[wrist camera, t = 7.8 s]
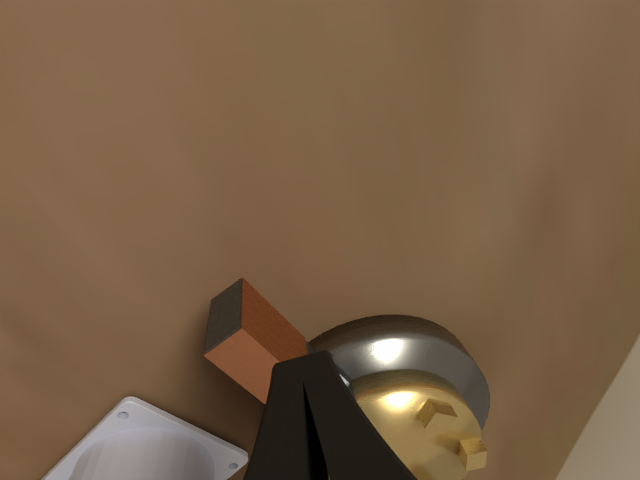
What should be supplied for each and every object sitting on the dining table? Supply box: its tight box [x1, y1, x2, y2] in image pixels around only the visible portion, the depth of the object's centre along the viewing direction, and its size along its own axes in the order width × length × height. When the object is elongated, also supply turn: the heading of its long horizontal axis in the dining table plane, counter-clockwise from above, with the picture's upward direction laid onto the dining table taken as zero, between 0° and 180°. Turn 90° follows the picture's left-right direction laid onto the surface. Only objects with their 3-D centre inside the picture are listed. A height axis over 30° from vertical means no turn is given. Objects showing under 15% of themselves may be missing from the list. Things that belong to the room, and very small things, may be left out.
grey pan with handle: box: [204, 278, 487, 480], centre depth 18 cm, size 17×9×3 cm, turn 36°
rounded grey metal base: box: [308, 315, 490, 431], centre depth 22 cm, size 12×12×2 cm
